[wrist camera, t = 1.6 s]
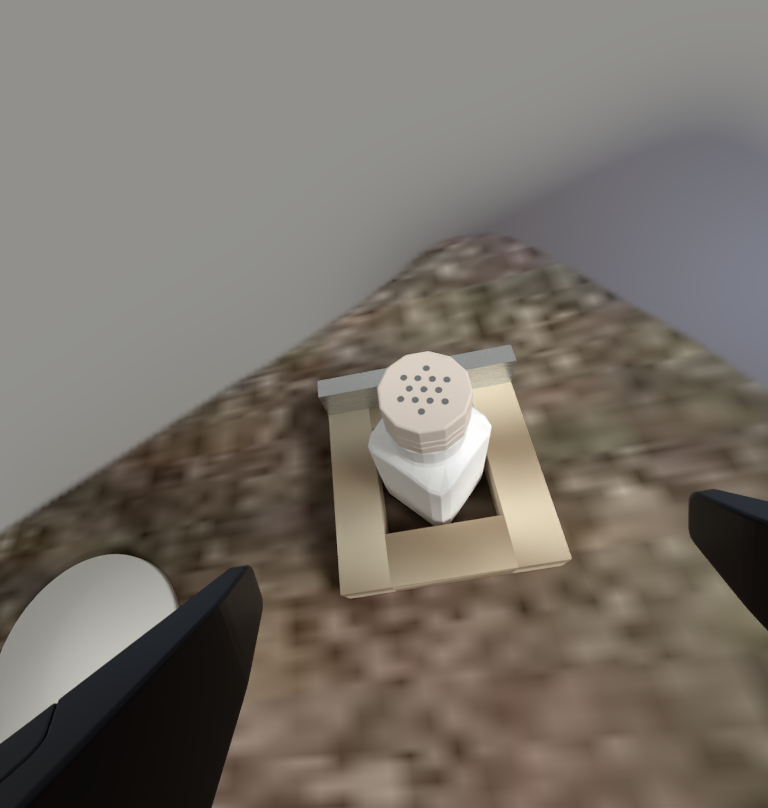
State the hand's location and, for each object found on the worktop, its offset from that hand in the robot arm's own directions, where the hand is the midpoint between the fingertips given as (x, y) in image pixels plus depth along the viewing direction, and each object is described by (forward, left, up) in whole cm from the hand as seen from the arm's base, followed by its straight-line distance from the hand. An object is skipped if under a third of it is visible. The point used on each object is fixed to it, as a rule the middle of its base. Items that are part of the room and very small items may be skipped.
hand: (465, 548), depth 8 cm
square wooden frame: (+5, +3, -12) cm, 13 cm away
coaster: (-10, +15, -12) cm, 22 cm away
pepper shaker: (+5, +3, -12) cm, 14 cm away
